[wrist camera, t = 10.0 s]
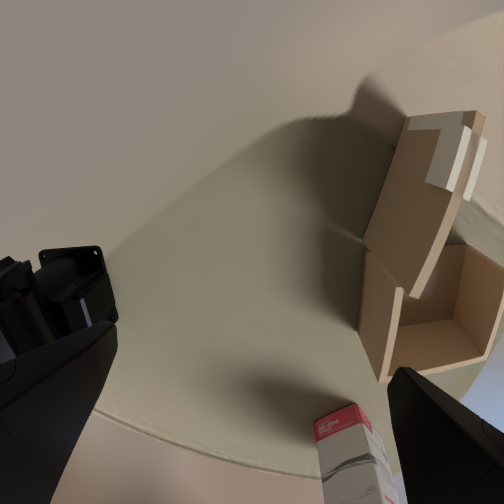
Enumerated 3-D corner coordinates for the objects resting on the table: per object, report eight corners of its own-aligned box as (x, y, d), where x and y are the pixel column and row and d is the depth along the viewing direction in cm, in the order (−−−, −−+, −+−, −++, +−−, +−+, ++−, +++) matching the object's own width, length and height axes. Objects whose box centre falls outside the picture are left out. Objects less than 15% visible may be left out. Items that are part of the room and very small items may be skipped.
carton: (357, 332, 23) (378, 383, 17) (364, 249, 21) (395, 287, 15) (452, 319, 22) (486, 359, 17) (466, 243, 20) (512, 273, 14)
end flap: (374, 246, 20) (425, 301, 13) (356, 239, 20) (401, 293, 13) (418, 124, 17) (491, 121, 10) (399, 114, 17) (469, 105, 10)
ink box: (310, 420, 27) (322, 526, 15) (357, 399, 26) (385, 507, 14) (343, 455, 29) (357, 541, 18) (383, 438, 28) (407, 524, 17)
